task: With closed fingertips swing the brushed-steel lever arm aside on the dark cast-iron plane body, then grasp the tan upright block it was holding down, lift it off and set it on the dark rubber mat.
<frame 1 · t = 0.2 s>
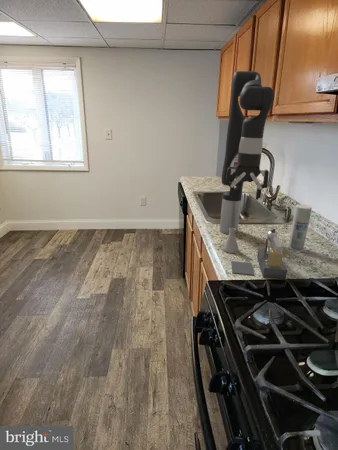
hand: (244, 198, 106), 28 cm above the worktop, fingers open, 8 cm apart
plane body: (270, 267, 118), on the worktop
mat: (242, 268, 117), on the worktop
flask: (230, 250, 133), on the worktop
spray can: (295, 248, 138), on the worktop
lever: (275, 239, 113), point 12 cm above the worktop, hinge at 0.0°
tan upright block: (273, 264, 112), point 4 cm above the worktop, touching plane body
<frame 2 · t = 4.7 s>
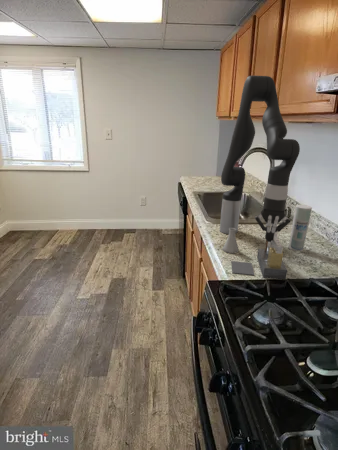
hand: (268, 241, 113), 12 cm above the worktop, fingers closed
lever: (275, 239, 113), point 12 cm above the worktop, hinge at 0.7°, touching gripper
everything else where it was.
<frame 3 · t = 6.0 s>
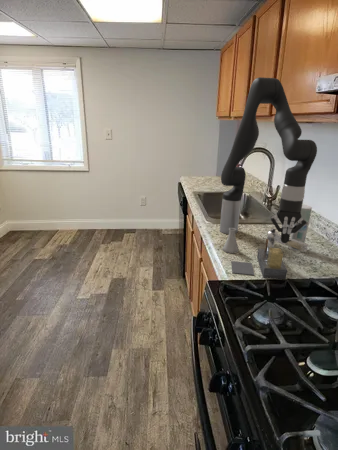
hand: (284, 242, 113), 12 cm above the worktop, fingers closed
lever: (286, 238, 114), point 12 cm above the worktop, hinge at 48.3°, touching gripper
everything else where it was.
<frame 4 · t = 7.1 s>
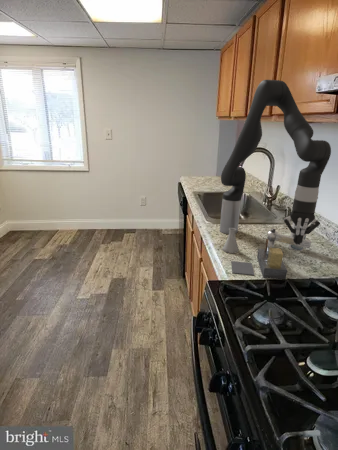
hand: (297, 243, 112), 12 cm above the worktop, fingers closed
lever: (288, 237, 115), point 12 cm above the worktop, hinge at 65.5°
everything else where it was.
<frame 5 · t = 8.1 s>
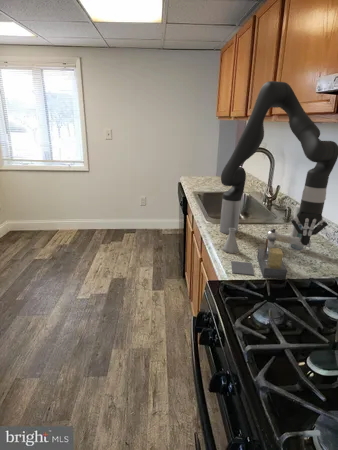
hand: (304, 244, 112), 12 cm above the worktop, fingers closed
lever: (288, 237, 116), point 12 cm above the worktop, hinge at 70.4°, touching gripper
everything else where it was.
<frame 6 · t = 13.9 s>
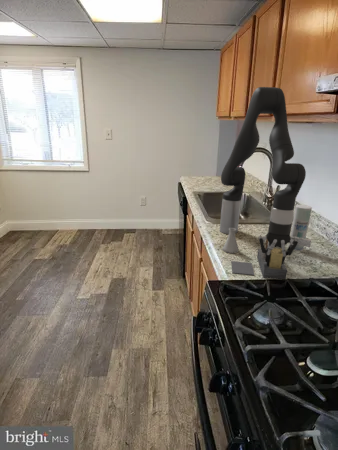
hand: (273, 263, 112), 4 cm above the worktop, fingers closed on tan upright block, 4 cm apart
lever: (288, 237, 116), point 12 cm above the worktop, hinge at 71.6°
tan upright block: (273, 264, 112), point 4 cm above the worktop, touching gripper, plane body
everything else where it was.
when the fingers open (2 cm above the worktop, at t = 20.3 s): tan upright block drops 2 cm, resting on mat.
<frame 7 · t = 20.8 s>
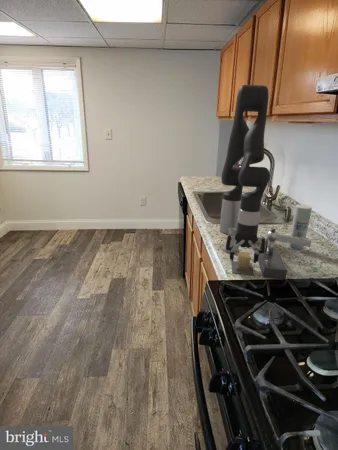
hand: (243, 261, 116), 3 cm above the worktop, fingers open, 8 cm apart
tan upright block: (242, 267, 116), resting on mat
everything else where it was.
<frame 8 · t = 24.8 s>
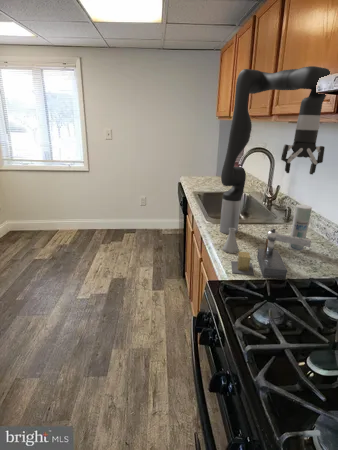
hand: (299, 173, 114), 36 cm above the worktop, fingers open, 8 cm apart
nothing on the worktop moved.
at the end: lever at +72° (first picture: +0°); tan upright block inside the target area on the mat (0.2 cm from its centre), point 0.4 cm above the mat's base; tan upright block tilted 0° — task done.
